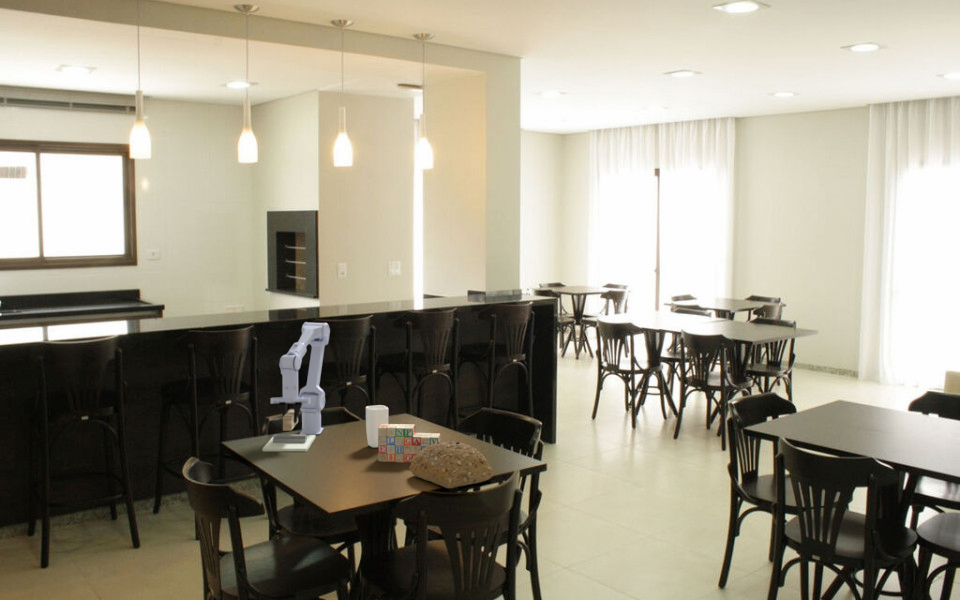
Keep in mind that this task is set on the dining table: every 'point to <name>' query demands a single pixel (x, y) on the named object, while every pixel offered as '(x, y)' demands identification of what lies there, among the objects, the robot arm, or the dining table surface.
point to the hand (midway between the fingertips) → (290, 422)
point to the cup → (375, 422)
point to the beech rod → (289, 420)
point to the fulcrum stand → (289, 442)
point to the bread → (451, 465)
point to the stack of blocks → (402, 442)
